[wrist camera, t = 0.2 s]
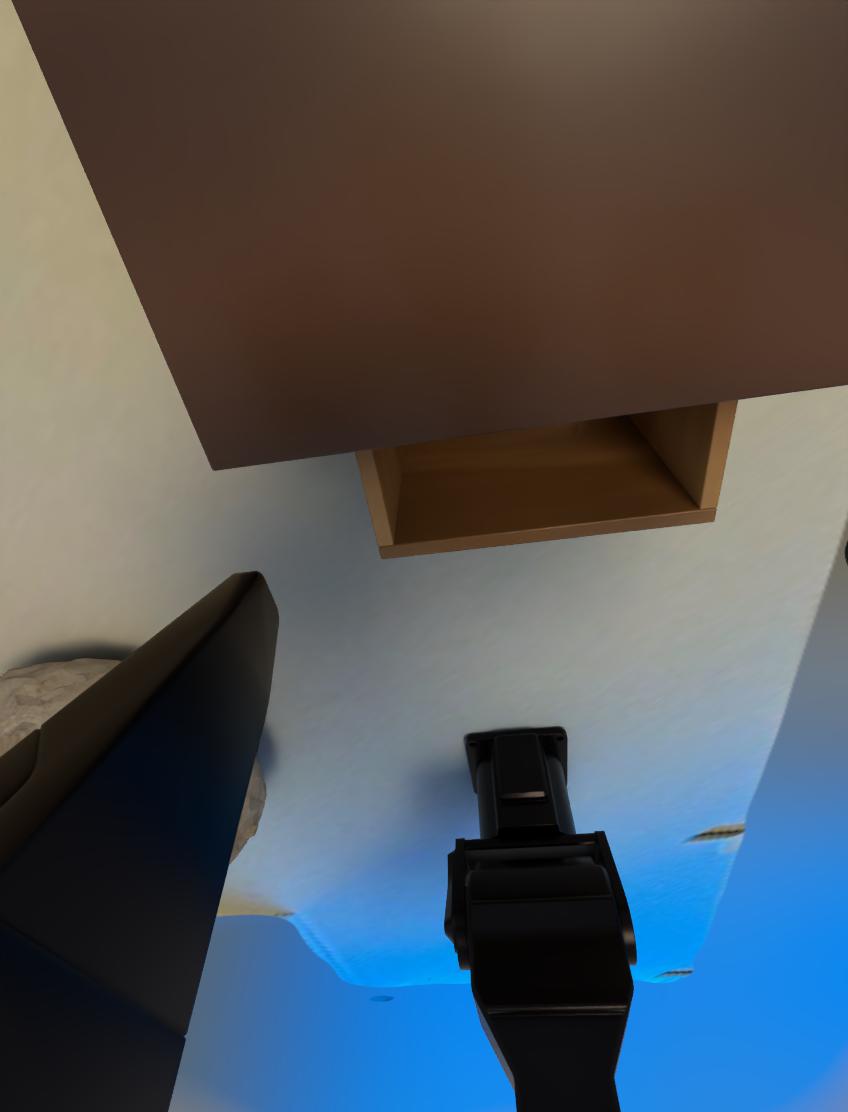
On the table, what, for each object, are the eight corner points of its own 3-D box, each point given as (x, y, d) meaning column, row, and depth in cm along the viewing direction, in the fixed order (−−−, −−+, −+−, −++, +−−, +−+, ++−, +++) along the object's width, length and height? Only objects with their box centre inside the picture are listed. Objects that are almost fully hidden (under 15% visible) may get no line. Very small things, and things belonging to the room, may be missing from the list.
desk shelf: (716, 275, 19) (964, 370, 10) (309, 340, 21) (212, 472, 12) (800, -277, 12) (1751, -1446, 3) (187, -117, 14) (-261, -626, 5)
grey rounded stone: (327, 768, 38) (296, 933, 29) (126, 813, 42) (52, 968, 34) (165, 585, 28) (53, 755, 20) (-74, 667, 32) (-246, 835, 24)
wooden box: (633, 418, 22) (714, 522, 16) (396, 450, 23) (381, 560, 17) (652, 187, 17) (778, 197, 11) (355, 240, 19) (310, 279, 12)
